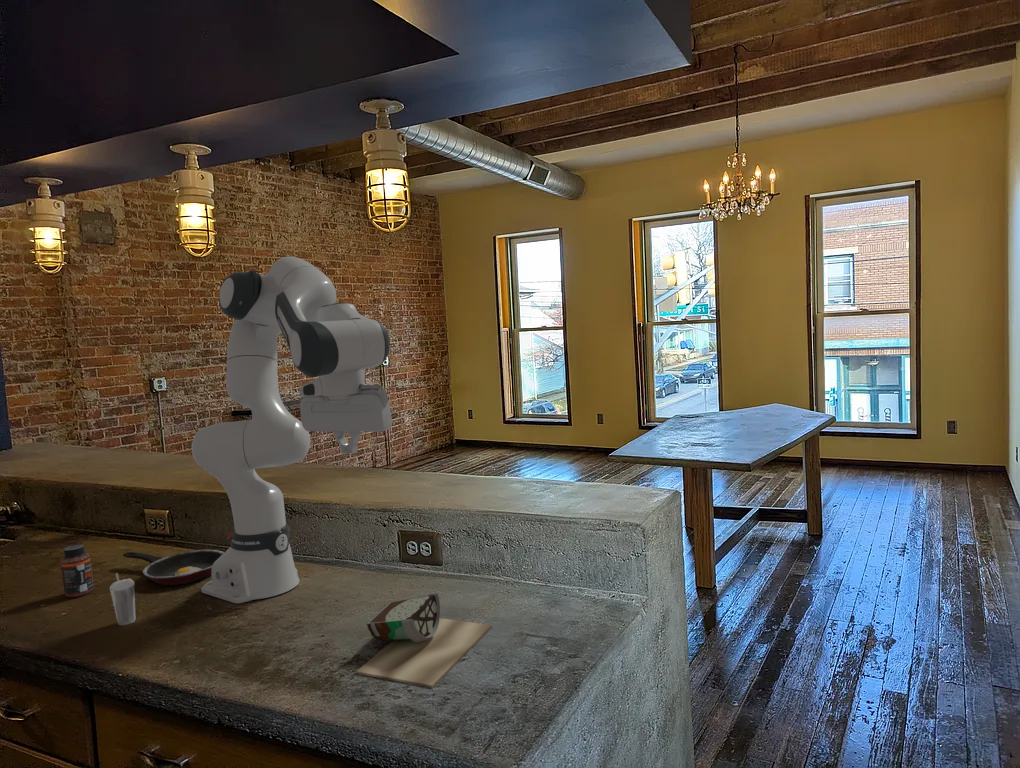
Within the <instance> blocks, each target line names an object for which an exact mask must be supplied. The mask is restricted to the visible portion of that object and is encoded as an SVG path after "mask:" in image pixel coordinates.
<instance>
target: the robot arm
mask: <svg viewBox="0 0 1020 768" xmlns="http://www.w3.org/2000/svg"><path fill="white" fill-rule="evenodd" d="M218 303H219V307H220V310H221V311H222V313H223V314H225V315H226V316H227V317H230V318H232V319H235V321H234V322H233V324H232V325H231V329H230V333H229V338H228V345H227V349H226V350H227V351H226V384H225V385H226V388H225V389H226V394H227V395H228V397H229V399H231V400H232V401H233V402H234V403H236V404H238V405H240V406H243V407H245V408H248V409H250V411H251V419H249V420H239V421H237V420H236V421H226V422H224V421H223V422H218V423H214V424H211V425H207V426H203V427H201V428H199V429H198V430H197V431H196V433H195V434H194V436H193V438H192V441H191V455H192V457H193V460H194V462H195V463H196V465H197V466H198V467H200V468H201V469H202V470H204V471H206V472H208V474H211V475H212V476H213V477H214V478H215V479H216V480H218V482H219V484H221V486H222V487H223V488H224V490H225V492H226V494H227V496H228V499H229V502H230V507H231V513H232V517H233V519H232V520H233V524H234V526H233V527H234V531H232V532H230V533H227V534H225V535H226V536H228V537H227V538H226V540H229V539H231V542H230V545H229V548H228V549H226V551H224V554H223V555H222V556H220V557H219V558H218V559H217V560H216V561H215V562H214V564H213V566H212V570H211V575H210V577H211V579H210V580H209V581H208V582H206V583H205V584H204V585H202V586H201V588H200V589H201V590H200V592H201V593H203V594H206V595H209V596H212V597H214V598H217V599H221V600H224V601H227V602H230V603H233V604H243V603H247V602H250V601H253V600H261V599H267V598H271V597H275V596H279V595H282V594H284V593H286V592H289V591H290V590H292V589H294V588H295V587H297V585H299V584H300V578H299V575H298V573H299V572H298V568H296V565H295V561H294V557H293V552H292V548H291V547H292V546H291V544H290V537H291V536H290V527H289V524H288V522H287V520H286V511H285V510H286V508H285V501H284V494H283V492H282V490H281V489H280V488H279V487H278V486H276V484H273V483H271V482H268V481H266V480H264V479H263V478H261V477H260V476H259V475H258V473H257V471H256V470H255V469H265V468H266V469H267V468H268V469H269V468H277V467H279V468H280V467H286V466H288V465H292V464H296V463H299V462H302V461H304V460H305V458H306V457H307V455H308V453H309V450H310V447H311V436H310V435H311V434H310V432H333V437H334V438H335V440H336V442H337V443H338V445H339V448H340V453H341V454H357V453H358V443H359V441H360V438H361V436H362V433H361V432H365V433H366V432H367V433H368V432H369V433H370V432H373V433H376V432H377V433H378V432H379V433H381V432H386V431H387V430H388V431H389V430H390V428H391V427H392V425H393V418H392V413H391V411H392V410H391V407H390V403H389V397H388V391H387V390H386V388H384V386H381V384H377V383H375V384H368V383H367V384H366V379H365V370H367V369H374V368H377V367H380V366H382V365H383V363H384V362H385V361H386V360H387V358H388V356H389V353H390V349H391V347H390V344H391V343H390V335H389V333H388V330H387V329H386V327H385V326H384V325H383V324H382V323H381V322H380V321H379V320H377V319H372V318H369V317H366V316H364V315H362V314H360V313H359V312H358V310H357V308H356V306H355V305H354V304H352V303H348V302H337V290H336V288H335V286H334V284H333V281H332V280H331V279H330V278H329V277H328V276H327V275H326V274H325V273H324V272H323V271H321V270H320V269H319V268H318V267H316V266H315V265H314V264H312V263H310V261H309V262H308V261H306V260H305V259H303V258H299V257H296V256H284V257H281V258H279V259H277V260H276V261H275V262H274V263H273V264H272V265H271V267H270V269H269V270H268V273H267V274H261V273H258V272H257V271H256V270H255V269H252V270H249V271H238V272H233V273H230V274H229V275H228V276H226V277H225V278H224V280H223V281H222V283H221V286H220V289H219V294H218ZM281 333H282V335H283V338H284V339H285V342H286V343H287V346H288V350H289V354H290V357H291V361H292V363H293V365H294V367H295V368H296V370H298V371H299V372H301V373H302V374H303V375H304V376H306V377H308V378H316V377H317V378H316V379H313V380H312V381H309V382H307V383H306V384H302V385H301V386H300V387H299V393H300V396H301V397H302V398H301V400H300V404H299V405H300V408H299V410H300V420H299V419H298V418H296V417H295V416H294V415H293V414H292V413H290V411H289V410H288V409H287V408H286V406H285V405H284V403H283V400H282V397H281V394H280V391H279V389H280V388H279V379H278V378H279V376H278V348H277V347H278V344H277V343H278V338H279V337H280V335H281ZM347 432H348V437H349V438H350V441H349V442H348V441H347V439H346V436H345V435H347Z"/></svg>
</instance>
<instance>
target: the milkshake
mask: <svg viewBox="0 0 1020 768" xmlns="http://www.w3.org/2000/svg"><path fill="white" fill-rule="evenodd" d="M115 578H116V581H114V582H113V583H112V584H111V585H110V586H109V591H110V596H111V599H112V604H113V608H114V612H115V617H116V621H117V625H118V626H122V627H123V626H128V625H131V624H133V623H135V622H136V620H137V619H136V617H137V616H136V597H135V581H134V580H133V579H132V578H131V577H130V578H124V579H120V576H119V573H118V572H116V573H115Z"/></svg>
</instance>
